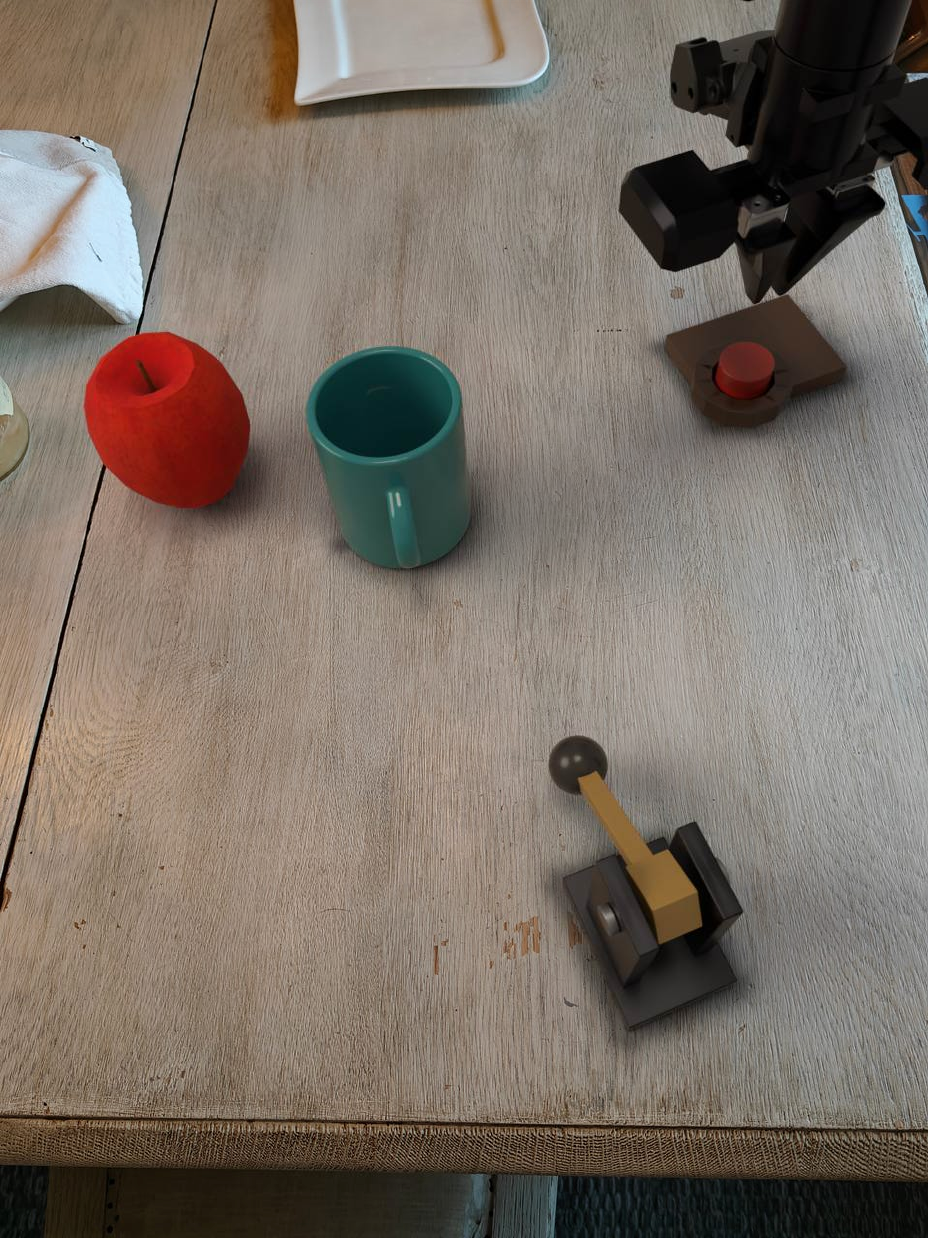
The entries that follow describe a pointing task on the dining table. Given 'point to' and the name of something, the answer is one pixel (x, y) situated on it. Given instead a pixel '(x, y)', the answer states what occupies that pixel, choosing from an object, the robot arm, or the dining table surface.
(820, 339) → the button block
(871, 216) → the robot arm
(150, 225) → the dining table surface
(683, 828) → the switch bracket
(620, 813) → the switch lever
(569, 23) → the dining table surface
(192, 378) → the apple
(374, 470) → the cup
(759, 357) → the button
